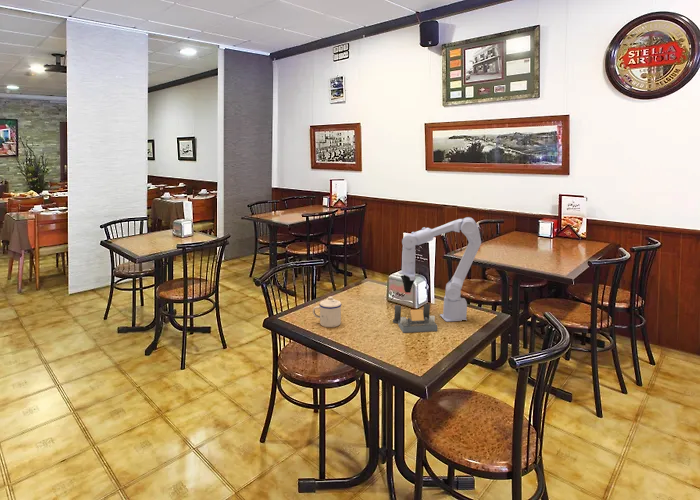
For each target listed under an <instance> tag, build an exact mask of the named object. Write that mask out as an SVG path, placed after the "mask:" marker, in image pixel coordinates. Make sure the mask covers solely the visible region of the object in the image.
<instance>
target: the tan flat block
mask: <svg viewBox="0 0 700 500" xmlns="http://www.w3.org/2000/svg"><path fill="white" fill-rule="evenodd" d="M423 310H424V309H411V310H410V311H409V313H410V319H411V322H425V320H424V316H423Z"/></svg>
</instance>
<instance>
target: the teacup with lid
mask: <svg viewBox="0 0 700 500" xmlns="http://www.w3.org/2000/svg"><path fill="white" fill-rule="evenodd" d="M341 306H342V302H341V301H340V300H338V299H335V298H334V297H333V296H328V297H327V298H325V299H324V300H322V301H320V302H319V305H317V306H314V307H313V308H312V314H313V315H314V317H315V318H317V319H319V320H320V322H319V324H320V326H322V327H324V328H335V327H338V326H340V325H341V324H342V307H341ZM317 309H319V315H318V314H317V313H316V312H315V310H317Z"/></svg>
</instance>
